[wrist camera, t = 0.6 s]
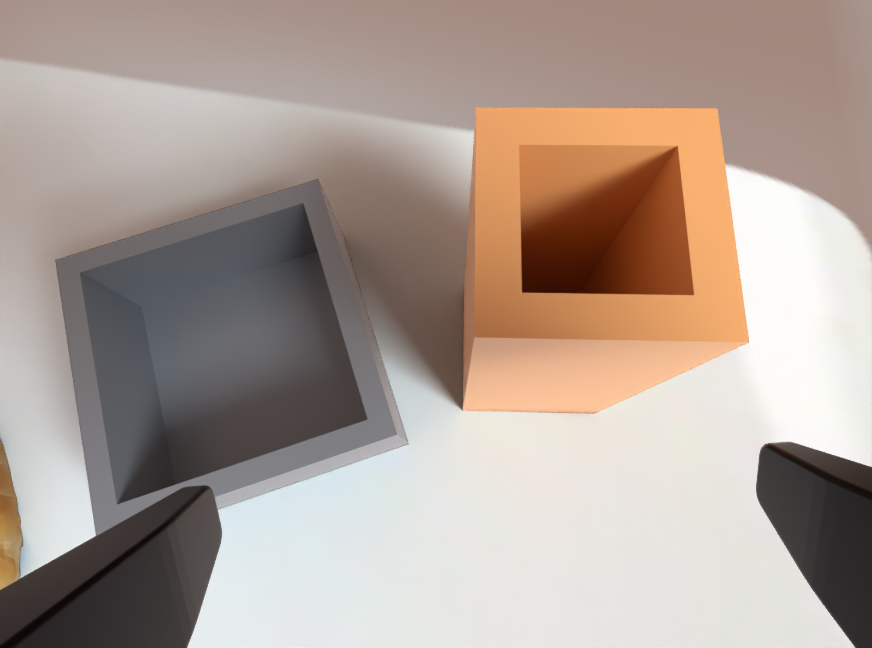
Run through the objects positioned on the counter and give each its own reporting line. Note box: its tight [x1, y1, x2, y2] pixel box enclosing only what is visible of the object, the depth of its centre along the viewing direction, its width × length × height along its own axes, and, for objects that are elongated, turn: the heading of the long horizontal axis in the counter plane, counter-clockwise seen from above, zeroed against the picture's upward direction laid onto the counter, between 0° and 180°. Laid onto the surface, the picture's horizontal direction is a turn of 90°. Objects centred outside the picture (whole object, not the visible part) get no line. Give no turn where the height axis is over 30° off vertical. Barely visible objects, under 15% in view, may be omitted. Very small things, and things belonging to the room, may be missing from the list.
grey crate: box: [55, 179, 409, 536], centre depth 22 cm, size 10×10×5 cm
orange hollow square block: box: [463, 108, 749, 413], centre depth 18 cm, size 6×6×12 cm
